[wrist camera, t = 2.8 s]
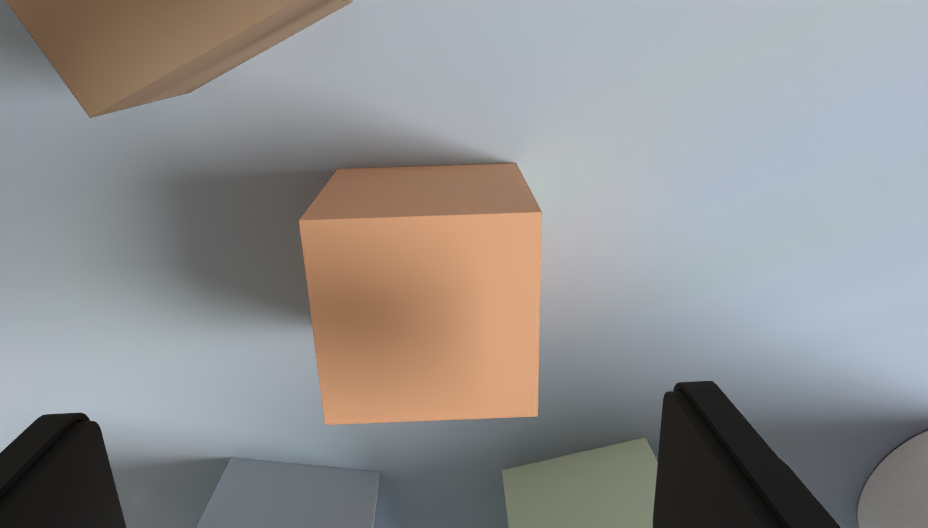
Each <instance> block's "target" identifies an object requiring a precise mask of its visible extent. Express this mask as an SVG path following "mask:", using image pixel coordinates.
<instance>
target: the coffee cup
mask: <svg viewBox="0 0 928 528" xmlns="http://www.w3.org/2000/svg"><path fill="white" fill-rule="evenodd" d="M857 518H858V525H859V528H928V431H925V432H923V433H921V434H919V435H917V436H915V437H913V438H912V439H910V440H908V441H907V442H905V443H904V444H902V445H901V446H899V447H898V448H897V449H895V450H894V451H893V452H892V453H890V454H889V455H888V456H887V457H886V458H885V459H884V460H883V461H882V462H881V463H880V464H879V465H878V466H877V468H876V469H875V470H874V471H873V473H872V474H871V476H870V477H869V479H868V480H867V482H866V484H865V486H864V488H863V490H862V493H861V496H860V499H859V503H858V511H857Z"/></svg>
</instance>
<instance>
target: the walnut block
mask: <svg viewBox="0 0 928 528" xmlns="http://www.w3.org/2000/svg"><path fill="white" fill-rule="evenodd" d="M6 1H7V3H8V4H9V5H10V7H11V8H12V10H13V11H14V12H15V14H16V15H17V17H18V18H19V19H20V21H21V22H22V24H23V25H24V26H25V28H26V29H27V31H28V32H29V33H30V35H31V36H32V38H33V39H34V40H35V42H36V43H37V45H38V46H39V47H40V49H41V50H42V52H43V53H44V54H45V56H46V57H47V59H48V60H49V61H50V63H51V64H52V66H53V67H54V68H55V70H56V71H57V73H58V74H59V75H60V77H61V78H62V80H63V81H64V82H65V84H66V85H67V87H68V88H69V89H70V91H71V92H72V94H73V95H74V96H75V98H76V99H77V101H78V102H79V103H80V105H81V106H82V108H83V109H84V110H85V112H86V113H87V115H88V116H89V117H90V118H91V117H95V116H99V115H103V114H107V113H111V112H115V111H119V110H123V109H127V108H131V107H135V106H139V105H143V104H147V103H151V102H155V101H159V100H163V99H166V98H170V97H174V96H178V95H182V94H186V93H190V92H192V91H193V90H195V89H197V88H199V87H201V86H202V85H204V84H206V83H208V82H210V81H211V80H213V79H215V78H217V77H219V76H220V75H222V74H224V73H226V72H228V71H229V70H231V69H233V68H235V67H236V66H238V65H240V64H242V63H244V62H245V61H247V60H249V59H251V58H253V57H254V56H256V55H258V54H260V53H262V52H263V51H265V50H267V49H269V48H271V47H272V46H274V45H276V44H278V43H279V42H281V41H283V40H285V39H287V38H288V37H290V36H292V35H294V34H296V33H297V32H299V31H301V30H303V29H305V28H306V27H308V26H310V25H312V24H314V23H315V22H317V21H319V20H321V19H323V18H324V17H326V16H328V15H330V14H331V13H333V12H335V11H337V10H339V9H340V8H342V7H344V6H346V5H348V4H349V3H351V2H353V1H352V0H6Z"/></svg>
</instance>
